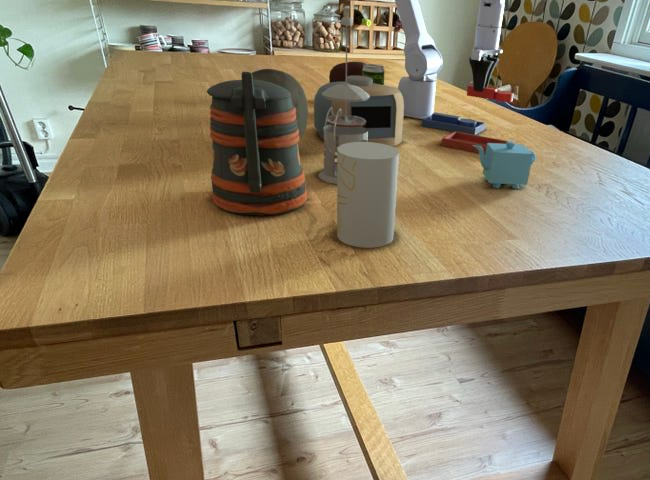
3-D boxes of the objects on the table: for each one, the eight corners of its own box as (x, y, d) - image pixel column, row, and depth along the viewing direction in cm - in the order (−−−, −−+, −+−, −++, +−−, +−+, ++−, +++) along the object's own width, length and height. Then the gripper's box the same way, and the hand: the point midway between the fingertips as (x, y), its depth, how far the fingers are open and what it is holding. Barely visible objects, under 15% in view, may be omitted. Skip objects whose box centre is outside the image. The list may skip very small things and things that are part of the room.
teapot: (470, 187, 101) (476, 144, 96) (464, 176, 106) (470, 135, 101) (533, 190, 102) (542, 148, 97) (525, 179, 107) (533, 139, 102)
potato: (334, 97, 159) (333, 56, 153) (379, 101, 158) (380, 61, 152) (324, 104, 150) (323, 61, 144) (372, 109, 149) (373, 66, 143)
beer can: (386, 120, 140) (389, 67, 133) (369, 122, 137) (371, 68, 130) (373, 115, 143) (375, 63, 136) (356, 117, 140) (358, 64, 133)
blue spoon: (429, 123, 138) (430, 114, 137) (436, 120, 141) (436, 111, 140) (472, 131, 134) (473, 121, 133) (478, 128, 138) (479, 118, 136)
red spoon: (465, 96, 136) (466, 86, 134) (470, 93, 139) (472, 84, 138) (509, 103, 132) (511, 93, 131) (514, 100, 135) (516, 90, 134)
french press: (379, 173, 104) (386, 17, 89) (355, 191, 95) (359, 21, 80) (332, 164, 106) (331, 11, 91) (304, 181, 97) (298, 15, 82)
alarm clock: (331, 151, 114) (331, 86, 107) (304, 127, 128) (302, 69, 121) (414, 147, 121) (419, 86, 114) (380, 124, 135) (382, 69, 128)
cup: (337, 224, 82) (337, 140, 75) (391, 225, 83) (396, 143, 76) (336, 246, 76) (337, 157, 69) (395, 248, 77) (401, 160, 70)
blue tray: (421, 125, 137) (422, 119, 136) (433, 120, 143) (434, 113, 142) (474, 135, 133) (475, 128, 132) (484, 129, 139) (485, 122, 138)
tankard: (318, 227, 81) (315, 76, 69) (213, 232, 77) (191, 73, 65) (300, 184, 95) (296, 54, 84) (212, 186, 92) (194, 50, 80)
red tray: (441, 145, 123) (442, 138, 122) (454, 138, 129) (454, 131, 128) (501, 157, 119) (502, 149, 118) (511, 149, 125) (512, 141, 124)
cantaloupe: (223, 151, 108) (213, 66, 100) (281, 141, 117) (277, 62, 108) (266, 169, 101) (260, 79, 92) (325, 157, 110) (324, 73, 101)
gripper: (496, 29, 121) (486, 97, 129) (513, 26, 132) (503, 88, 140) (466, 26, 123) (458, 92, 131) (485, 23, 134) (477, 84, 142)
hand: (479, 90), depth 136 cm, fingers closed on red spoon, 2 cm apart
